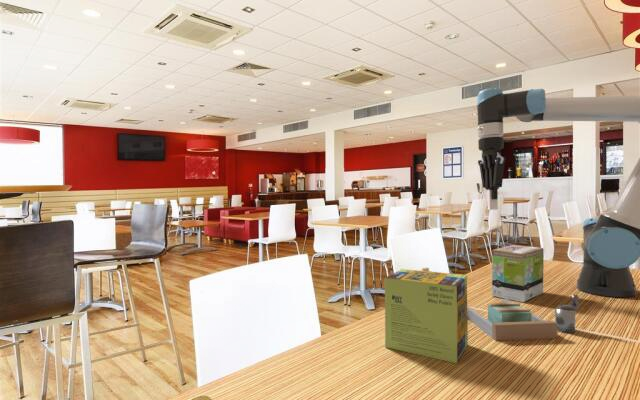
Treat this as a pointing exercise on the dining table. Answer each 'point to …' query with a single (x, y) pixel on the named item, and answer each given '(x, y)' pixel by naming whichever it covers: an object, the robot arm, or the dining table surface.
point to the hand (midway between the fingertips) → (492, 209)
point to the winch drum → (566, 316)
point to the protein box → (426, 313)
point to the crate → (508, 312)
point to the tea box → (517, 272)
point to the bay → (515, 327)
